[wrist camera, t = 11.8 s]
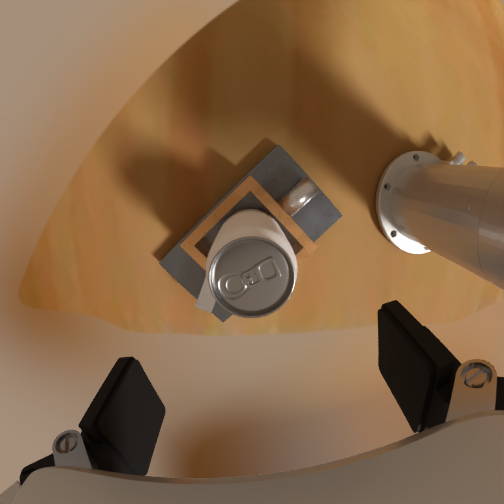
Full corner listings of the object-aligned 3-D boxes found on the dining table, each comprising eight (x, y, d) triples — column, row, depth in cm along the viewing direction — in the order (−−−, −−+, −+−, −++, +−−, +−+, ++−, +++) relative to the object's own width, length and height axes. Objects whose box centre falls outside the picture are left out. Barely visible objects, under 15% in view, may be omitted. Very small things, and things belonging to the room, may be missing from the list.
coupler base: (277, 145, 28) (282, 141, 24) (338, 213, 30) (351, 220, 26) (161, 260, 32) (150, 272, 27) (223, 317, 34) (221, 336, 30)
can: (208, 224, 29) (183, 257, 18) (265, 197, 29) (276, 211, 17) (236, 277, 31) (230, 337, 19) (291, 252, 30) (316, 299, 19)
